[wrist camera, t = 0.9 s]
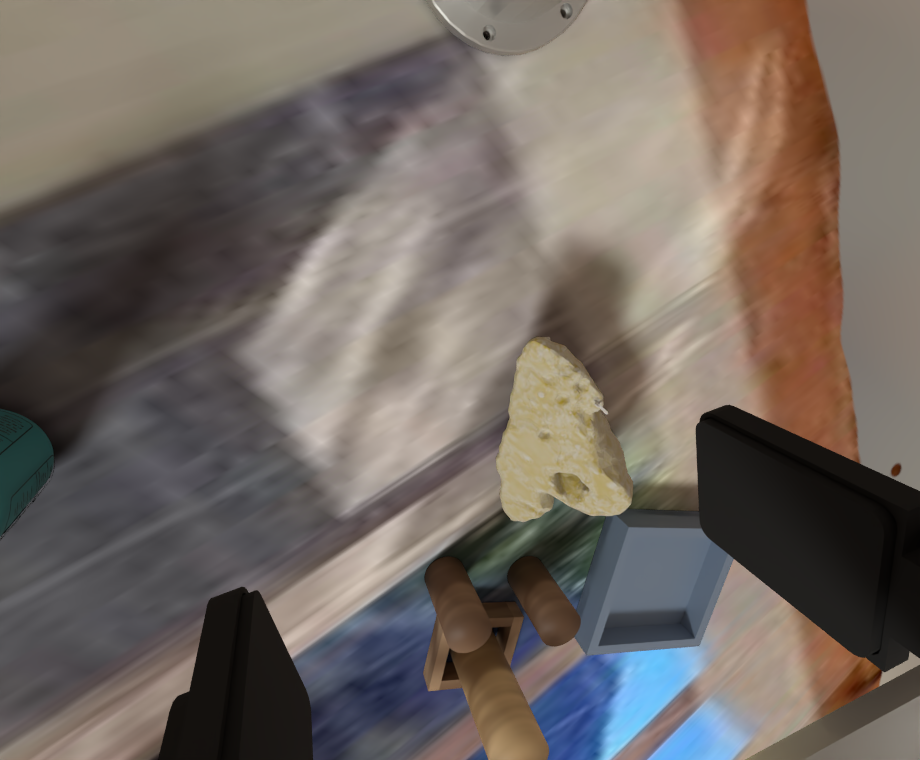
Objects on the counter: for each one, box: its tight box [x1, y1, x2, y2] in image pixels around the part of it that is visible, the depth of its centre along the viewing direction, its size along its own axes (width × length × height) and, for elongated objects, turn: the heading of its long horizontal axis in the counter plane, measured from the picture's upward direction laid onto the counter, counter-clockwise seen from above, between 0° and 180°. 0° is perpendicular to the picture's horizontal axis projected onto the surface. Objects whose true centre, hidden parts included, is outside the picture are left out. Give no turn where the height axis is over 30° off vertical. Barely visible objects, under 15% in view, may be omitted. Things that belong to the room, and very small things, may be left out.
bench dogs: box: [425, 556, 581, 653], centre depth 43 cm, size 4×12×7 cm, turn 77°
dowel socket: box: [423, 602, 524, 691], centre depth 47 cm, size 8×8×2 cm
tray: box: [574, 509, 734, 655], centre depth 51 cm, size 14×14×3 cm
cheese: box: [496, 337, 633, 522], centre depth 41 cm, size 15×7×15 cm
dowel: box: [449, 630, 549, 760], centre depth 43 cm, size 4×4×12 cm
